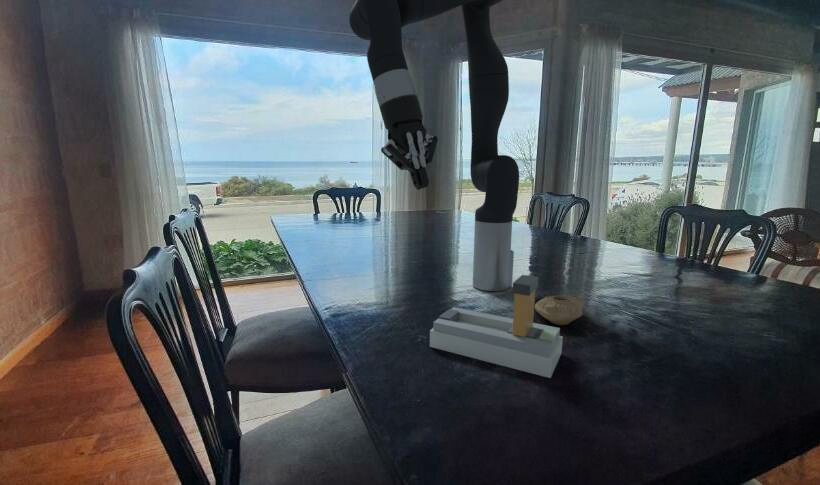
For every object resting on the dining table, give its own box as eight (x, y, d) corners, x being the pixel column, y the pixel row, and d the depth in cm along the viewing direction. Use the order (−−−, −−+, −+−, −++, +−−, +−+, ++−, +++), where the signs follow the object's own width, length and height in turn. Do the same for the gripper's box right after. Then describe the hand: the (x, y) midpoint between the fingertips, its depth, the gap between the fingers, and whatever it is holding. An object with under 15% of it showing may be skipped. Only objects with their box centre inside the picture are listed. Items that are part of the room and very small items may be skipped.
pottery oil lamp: (599, 316, 80) (607, 292, 76) (559, 346, 76) (564, 322, 72) (564, 291, 86) (569, 268, 82) (525, 318, 82) (528, 295, 77)
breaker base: (429, 346, 67) (430, 320, 66) (451, 328, 75) (452, 304, 74) (550, 378, 57) (552, 347, 56) (561, 353, 65) (563, 326, 64)
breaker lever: (505, 341, 62) (508, 282, 60) (514, 329, 67) (517, 274, 65) (530, 347, 60) (534, 286, 58) (538, 334, 65) (542, 277, 63)
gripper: (379, 95, 68) (407, 192, 69) (435, 90, 75) (459, 177, 77) (359, 110, 74) (385, 199, 76) (413, 104, 81) (435, 185, 83)
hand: (422, 188), depth 76 cm, fingers closed
